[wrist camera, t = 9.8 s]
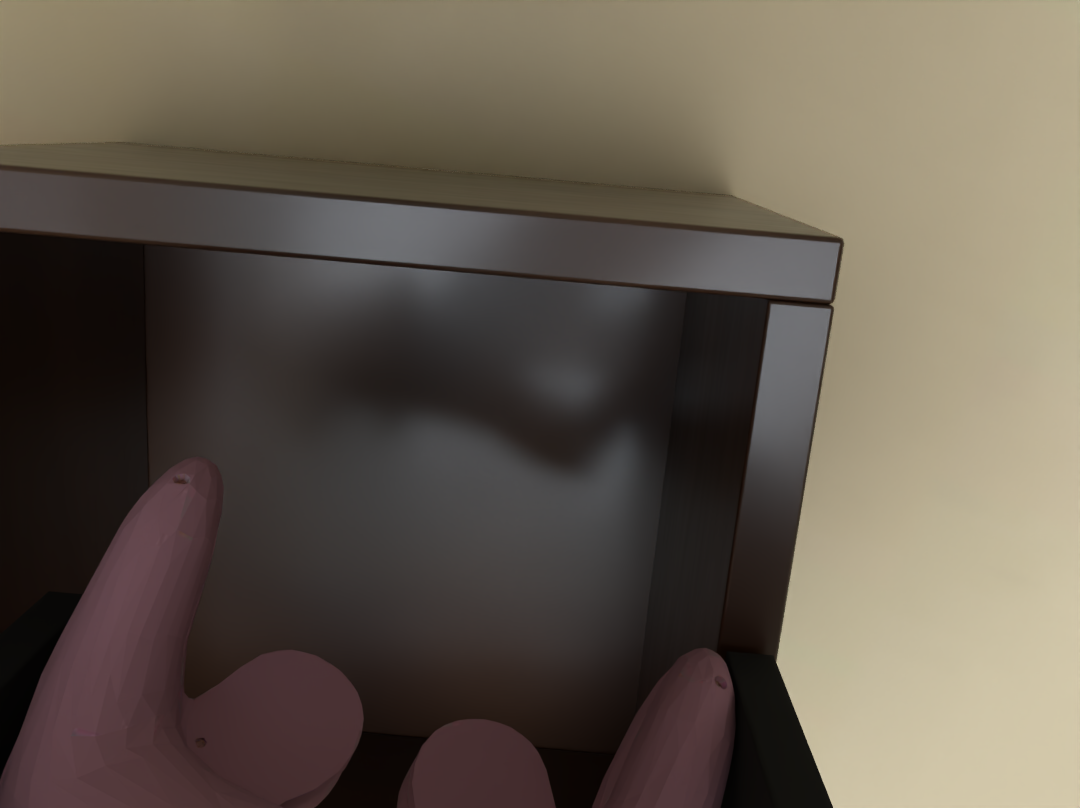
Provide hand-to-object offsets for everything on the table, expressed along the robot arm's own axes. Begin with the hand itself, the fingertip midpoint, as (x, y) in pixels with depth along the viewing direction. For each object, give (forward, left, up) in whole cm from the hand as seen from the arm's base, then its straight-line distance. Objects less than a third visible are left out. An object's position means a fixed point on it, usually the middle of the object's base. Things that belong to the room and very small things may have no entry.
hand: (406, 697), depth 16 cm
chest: (+1, 0, -10) cm, 10 cm away
